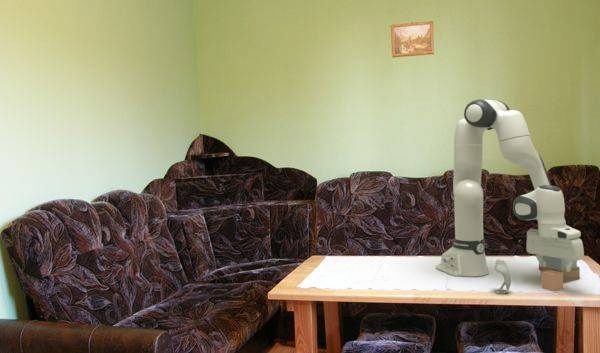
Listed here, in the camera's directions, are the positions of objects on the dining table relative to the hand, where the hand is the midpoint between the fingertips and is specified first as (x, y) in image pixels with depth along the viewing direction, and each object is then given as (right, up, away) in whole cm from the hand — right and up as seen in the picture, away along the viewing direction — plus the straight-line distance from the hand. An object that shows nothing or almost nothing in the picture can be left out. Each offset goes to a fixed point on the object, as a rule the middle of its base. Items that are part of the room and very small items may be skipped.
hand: (554, 269), depth 173 cm
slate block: (+8, -1, +12) cm, 14 cm away
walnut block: (+8, -6, +12) cm, 16 cm away
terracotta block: (0, -7, +1) cm, 7 cm away
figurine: (-19, -8, 0) cm, 21 cm away
